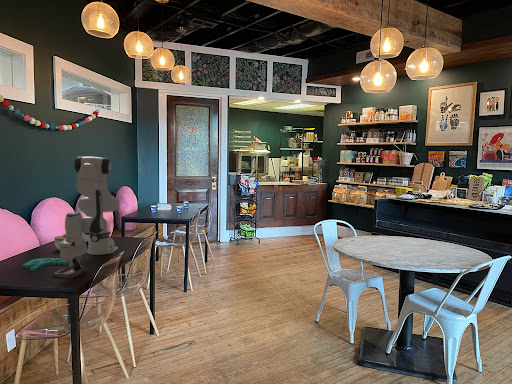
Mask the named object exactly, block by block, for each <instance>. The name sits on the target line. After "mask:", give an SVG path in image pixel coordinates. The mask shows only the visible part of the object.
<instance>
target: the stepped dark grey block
mask: <svg viewBox="0 0 512 384" xmlns="http://www.w3.org/2000/svg"><path fill="white" fill-rule="evenodd" d="M72 262H73V263H74V266H72V267H71V269H70V270H73V271H78V270H82V272H83V271H84V270H85V267H86V265H81V264H80V263H78V261H77V260H76V258H73V261H72Z"/></svg>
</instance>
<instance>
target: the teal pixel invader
mask: <svg viewBox="0 0 512 384" xmlns="http://www.w3.org/2000/svg"><path fill="white" fill-rule="evenodd" d="M68 263H69V262H68V261H61V259H60V257H55V258H54V257H50V258H49V257H46V258H45V257H41V258H35V259H33V258H32V259H30V260H28V261H27V262H25V263H22V268H24V269H29V270H30V272H36V271H37V270H39V269H40V268H42V267H46V265H47V266H51V265H52V266H55V265H56V264H57V266H60V265H61V266H67V265H69V264H68Z"/></svg>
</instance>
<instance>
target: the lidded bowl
mask: <svg viewBox="0 0 512 384" xmlns="http://www.w3.org/2000/svg"><path fill="white" fill-rule="evenodd" d="M65 235H66V233H64V234H62V235H58V236H55V237H54V238H53V239H54V246H55V248H56V249H57V250H58V251H59V252H60V249H61V247H60V243H61V242H62V241H63V240H64V239H65Z"/></svg>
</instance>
